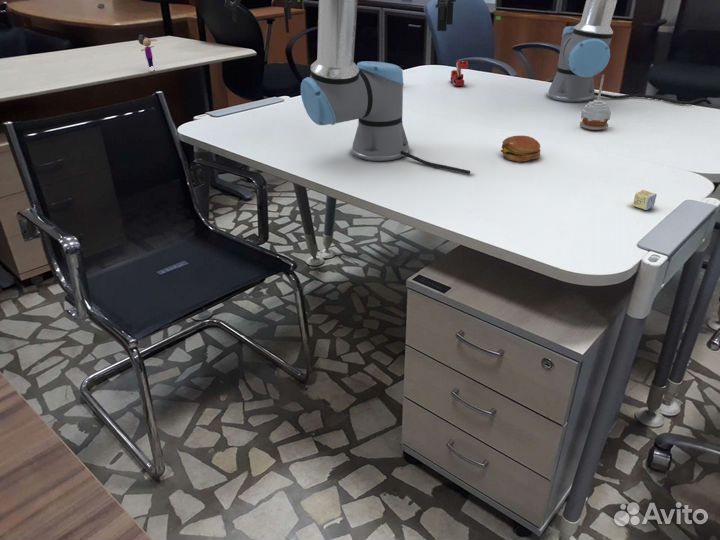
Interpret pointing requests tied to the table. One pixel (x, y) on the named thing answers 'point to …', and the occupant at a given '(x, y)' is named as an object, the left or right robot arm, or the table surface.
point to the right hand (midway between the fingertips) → (445, 27)
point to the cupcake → (596, 113)
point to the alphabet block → (644, 200)
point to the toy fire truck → (458, 73)
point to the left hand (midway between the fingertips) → (263, 33)
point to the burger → (520, 148)
